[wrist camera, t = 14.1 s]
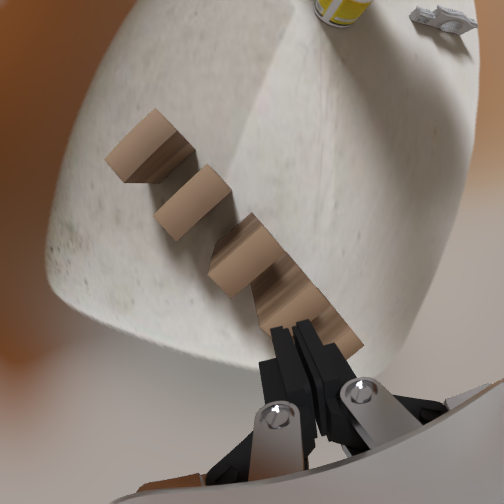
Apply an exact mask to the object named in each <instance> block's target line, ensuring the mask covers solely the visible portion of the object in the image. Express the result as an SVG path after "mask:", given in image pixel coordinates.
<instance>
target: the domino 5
mask: <svg viewBox="0 0 504 504" xmlns="http://www.w3.org/2000/svg"><path fill="white" fill-rule="evenodd" d="M316 288H317V287H316ZM317 289H318V288H317ZM318 290H319V289H318ZM319 291H320V290H319ZM320 293H321V294H322V292H321V291H320ZM322 295H323V294H322ZM323 296H324V295H323ZM324 298H325V299H326V300H327V298H326V297H325V296H324ZM327 301H328V300H327ZM328 302H329V301H328ZM329 304H330V306H329V307H328V308H327V309H325V310H324V311H323V312H322V313H321V314H319V315H318V316H317V317H316V318H315V319H313V320H312V321H311V324H312V325H313V327H314V329H315V331H316V333H317V334H318V336H319V338H320V340H321V342H322V343H323V345H327V344H330V343H333V342H334V343H335V344H336V345H337V346H338V348H339V350H340V351H341V353H342V354H343V356H344V358H345V359H346V360H347V359H348V358H350V357H351V356H352V355H353V354H355V353H356V352H357V351H358V350H359V349H361V348H362V347H363V346H364V344H363V343H362V342H361V341H360V339H359V338H358V337H357V336H356V334H355V333H354V332H353V331H352V329H351V328H350V327H349V326H348V324H347V323H346V322H345V321H344V319H343V318H342V317H341V316H340V314H339V313H338V312H337V311H336V309H335V308H334V307H333V306H332V305H331V303H330V302H329ZM292 339H293V341H294V337H293V336H292ZM294 344H295V342H294Z"/></svg>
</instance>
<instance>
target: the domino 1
mask: <svg viewBox="0 0 504 504" xmlns="http://www.w3.org/2000/svg"><path fill="white" fill-rule="evenodd" d="M194 151H195V149H194V148H193V146H192V145H191V144H190V143H189V142H188V141H187V140H186V139H185V138H184V137H183V136H182V135H181V134H180V133H179V131H178V130H177V129H176V128H175V127H174V126H173V125H172V124H171V123H170V122H169V121H168V120H167V119H166V118H165V117H164V116H163V115H162V114H161V113H160V112H159V111H158V110H157V109H156V108H155V109H154V110H152V111H151V112H150V113H149V114H148V115H147V116H146V117H145V118H144V119H143V120H142V121H141V122H140V123H139V124H138V125H136V126H135V127H134V128H133V129H132V130H131V131H130V132H129V133H128V134H127V135H126V136H125V137H124V139H123V140H122V141H121V142H120V143H119V144H118V145H117V146H116V147H115V148H114V149H113V150H112V151H111V152H110V153H109V155H108V156H107V157H106V158H105V159H104V160H105V161H106V162H107V164H108V165H109V166H110V167H111V168H112V169H113V171H114V172H115V173H116V174H117V175H118V177H119V178H120V179H121V180H122V181H123V182H124V183H158V184H160V183H161V182H162V181H163V180H164V179H165V178H166V177H167V176H168V175H169V174H170V173H171V172H172V171H173V170H174V169H175V168H176V167H177V166H178V165H179V164H181V163H182V162H183V161H184V160H185V159H186V158H187V157H188V156H189V155H190V154H191V153H193V152H194Z"/></svg>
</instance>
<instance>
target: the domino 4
mask: <svg viewBox="0 0 504 504" xmlns="http://www.w3.org/2000/svg"><path fill="white" fill-rule="evenodd" d="M251 287H252V292H253V297H254V302H255V306H256V311H257V316H258V321H259V325H260V328H261V329H263V330H264V331H265V332H266V333H267V334H268V335H269V336H270V337H271V332H270V328H274V327H279V326H283V329H284V328H288V329H289V331H290V334H291V336H293V331H292V326H296V322H298V321H302V320H306V319H309V320H310V322H311V321H312V320H313V319H315V318H316V317H317V316H318V315H319V314H321V313H322V312H323V311H324V310H325V309H327V308H328V307H329V306H330V304H329V302H328V301H327V300H326V299H325V298H324V296H323V295H322V294H321V293H320V291H319V290H318V289H317V288H316V287H315V285H314V284H313V283H312V282H311V280H310V279H309V278H308V277H307V276H306V274H305V273H304V272H303V271H302V270H301V268H300V267H299V266H298V265H297V264H296V262H295V261H294V260H293V259H292V258H291V257H290V255H289V254H288V253H287V252H286V253H284V254H283V255H282V256H281V257H280V258H279V259H278V260H276V261H275V262H274V263H273V264H272V265H271V266H269V267H268V268H267V269H266V270H265V271H264V272H262V273H261V274H260V275H259V276H258V277H256V278H255V279H254V280H253V281H252V282H251ZM271 338H272V337H271Z"/></svg>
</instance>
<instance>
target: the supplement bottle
mask: <svg viewBox="0 0 504 504" xmlns="http://www.w3.org/2000/svg"><path fill="white" fill-rule="evenodd" d="M372 1H373V0H316V1H315V4H314V10H315V13H316V14H317V16H318V17H319V18H320V19H321V20H323V21H324V22H325V23H327V24H329V25H332V26H335V27H339V28H345V27H349V26H351V25H352V24H353V23H354V22H355V21H356V20H357V19H358V18H359V16H360V15H361V14H362V13H363V12H364V11H365V9H366V8H367V7H368V6H369V5H370V3H371V2H372Z"/></svg>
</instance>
